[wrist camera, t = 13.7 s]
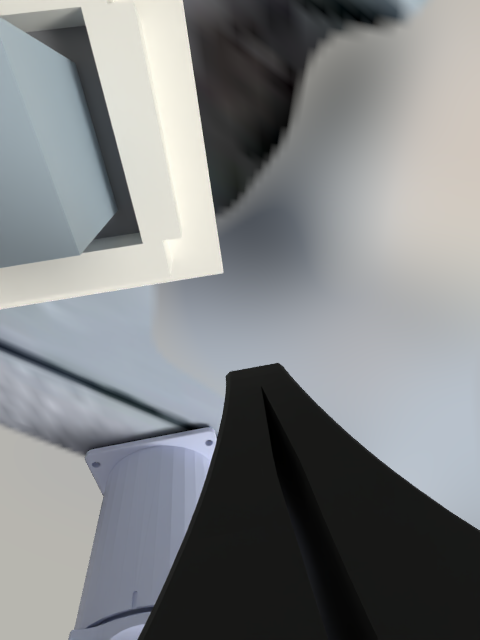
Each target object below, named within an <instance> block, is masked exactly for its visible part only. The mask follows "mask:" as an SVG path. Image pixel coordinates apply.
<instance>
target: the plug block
mask: <svg viewBox="0 0 480 640" xmlns="http://www.w3.org/2000/svg"><path fill="white" fill-rule="evenodd" d="M117 211H118V209H117V206H116V202H115V199H114V195H113V192H112V188H111V185H110V182H109V178H108V175H107V171H106V168H105V164H104V161H103V157H102V154H101V151H100V147H99V144H98V140H97V137H96V133H95V130H94V126H93V123H92V120H91V116H90V113H89V109H88V106H87V102H86V99H85V95H84V92H83V89H82V85H81V82H80V78H79V75H78V71H77V68H76V64H75V63H74V62H73V61H71V60H69V59H68V58H66V57H64V56H63V55H61V54H60V53H58V52H56V51H55V50H53V49H51V48H50V47H48V46H47V45H45V44H43V43H42V42H40V41H38V40H37V39H35V38H33V37H32V36H30V35H29V34H27V33H25V32H24V31H22V30H20V29H19V28H17V27H16V26H14V25H12V24H11V23H9V22H7V21H6V20H4V19H3V18H1V17H0V268H4V267H10V266H16V265H22V264H28V263H35V262H41V261H47V260H53V259H60V258H66V257H72V256H78V255H81V253H82V252H83V251H84V250H85V249H86V248H87V246H88V245H89V244H90V243H91V242H92V240H93V239H94V238H95V237H96V236H97V234H98V233H99V232H100V231H101V230H102V228H103V227H104V226H105V225H106V224H107V222H108V221H109V220H110V219H111V218H112V216H113V215H114V214H115V213H116V212H117Z"/></svg>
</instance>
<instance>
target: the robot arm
mask: <svg viewBox="0 0 480 640" xmlns="http://www.w3.org/2000/svg"><path fill="white" fill-rule="evenodd" d="M207 440H210V441H207ZM85 461H86V463H87V465H88V467H89V469H90V470H91V473H92V475H93V477H94V478H95V480H96V482H97V484H98V486H99V488H100V490H101V492H102V494H103V496H104V497H103V502H102V506H101V511H100V515H99V520H98V525H97V529H96V533H95V538H94V542H93V547H92V552H91V556H90V560H89V566H88V569H87V574H86V579H85V583H84V588H83V592H82V597H81V601H80V606H79V610H78V615H77V619H76V624H75V628H74V630H72V631H71V632H70V635H69V639H68V640H480V530H478V529H477V528H475V527H473V526H472V525H470V524H469V523H467V522H466V521H464V520H462V519H461V518H459V517H458V516H456V515H455V514H453V513H451V512H450V511H449V510H447V509H446V508H444V507H443V506H441V505H440V504H438V503H437V502H436V501H434V500H433V499H431V498H430V497H429V496H427V495H426V494H424V493H423V492H421V491H420V490H419V489H417V488H416V487H414V486H413V485H412V484H410V483H409V482H408V481H407V480H405V479H404V478H402V477H401V476H400V475H398V474H397V473H396V472H394V471H393V470H392V469H391V468H389V467H388V466H387V465H385V464H384V463H383V462H382V461H380V460H379V459H378V458H377V457H375V456H374V455H373V454H372V453H371V452H369V451H368V450H367V449H366V448H365V447H363V446H362V445H361V444H360V443H359V442H358V441H356V440H355V439H354V438H353V437H352V436H351V435H349V434H348V433H347V432H346V431H345V430H344V429H343V428H342V427H341V426H339V425H338V424H337V423H336V422H335V421H334V420H333V419H332V418H331V417H330V416H329V415H328V414H327V413H326V412H325V411H324V410H323V409H322V408H321V407H320V406H318V405H317V404H316V402H314V400H312V398H310V396H309V395H308V394H307V393H306V392H305V391H304V390H303V389H302V388H301V387H300V386H299V385H298V384H297V382H296V381H295V380H294V379H293V378H292V377H291V376H290V375H289V373H288V372H287V371H286V370H285V369H284V367H283V366H282V365H280V364H279V363H275V364H270V365H264V366H259V367H253V368H248V369H242V370H237V371H232V372H229V373H228V374H227V375H226V395H225V403H224V409H223V415H222V419H221V424H220V428H219V433H218V437H217V438H216V433H215V430H214V429H212V428H210V427H206V428H201V429H196V430H190V431H185V432H180V433H175V434H169V435H164V436H159V437H154V438H149V439H143V440H138V441H133V442H128V443H122V444H117V445H112V446H107V447H102V448H96V449H92V450H89V451H88V452H87V453H86V456H85Z"/></svg>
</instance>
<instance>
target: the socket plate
mask: <svg viewBox="0 0 480 640" xmlns="http://www.w3.org/2000/svg"><path fill="white" fill-rule="evenodd" d="M0 17H1V18H3V19H4V20H6V21H7V22H9V23H11V24H12V25H14V26H16V27H17V28H19V29H20V30H22V31H24V32H25V33H27V34H29V35H30V36H32V37H33V38H35V39H37V40H38V41H40V42H42V43H43V44H45V45H47V46H48V47H50V48H51V49H53V50H55V51H56V52H58V53H60V54H61V55H63V56H64V57H66V58H68V59H69V60H71V61H73V62H74V63H75V64H76V68H77V71H78V75H79V78H80V82H81V85H82V89H83V92H84V95H85V99H86V102H87V106H88V109H89V113H90V116H91V120H92V123H93V126H94V130H95V133H96V137H97V140H98V144H99V147H100V151H101V154H102V157H103V161H104V164H105V168H106V171H107V175H108V178H109V182H110V185H111V188H112V192H113V195H114V199H115V202H116V206H117V209H118V211H117V212H116V213H115V214H114V215H113V216H112V218H111V219H110V220H109V221H108V222H107V224H106V225H105V226H104V227H103V228H102V230H101V231H100V232H99V233H98V234H97V236H96V237H95V238H94V239H93V240H92V242H91V243H90V244H89V245H88V246H87V248H86V249H85V250H84V251H83V252H82V253H81V255H78V256H72V257H66V258H60V259H53V260H47V261H41V262H35V263H28V264H22V265H16V266H10V267H4V268H0V309H5V308H11V307H18V306H24V305H30V304H36V303H42V302H48V301H54V300H61V299H67V298H73V297H79V296H85V295H91V294H97V293H104V292H110V291H116V290H122V289H128V288H134V287H140V286H147V285H153V284H159V283H165V282H171V281H177V280H183V279H189V278H196V277H201V276H208V275H214V274H220V273H223V266H222V259H221V253H220V246H219V239H218V233H217V226H216V220H215V213H214V206H213V200H212V193H211V186H210V180H209V173H208V166H207V160H206V153H205V146H204V140H203V133H202V126H201V120H200V113H199V106H198V100H197V93H196V86H195V80H194V73H193V67H192V60H191V53H190V47H189V40H188V33H187V27H186V20H185V13H184V7H183V0H0Z"/></svg>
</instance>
